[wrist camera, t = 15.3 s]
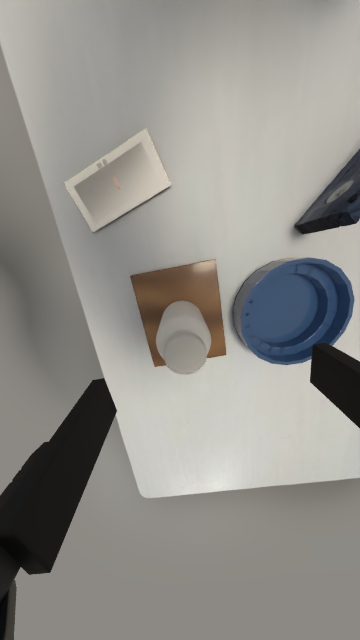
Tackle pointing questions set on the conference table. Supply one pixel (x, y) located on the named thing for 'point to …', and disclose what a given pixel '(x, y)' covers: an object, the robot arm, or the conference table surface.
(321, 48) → the conference table surface
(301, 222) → the vhs cassette tape
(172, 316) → the pill bottle
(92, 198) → the touchpad
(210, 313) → the mat
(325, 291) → the bowl
